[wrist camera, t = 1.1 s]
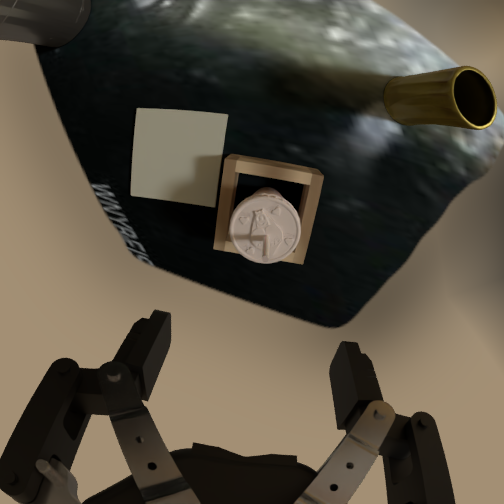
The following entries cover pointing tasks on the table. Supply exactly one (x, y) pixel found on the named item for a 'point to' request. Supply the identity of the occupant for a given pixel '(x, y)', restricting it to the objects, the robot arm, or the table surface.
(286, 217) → the smoothie
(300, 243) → the sleeve
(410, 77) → the vase
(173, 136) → the mat
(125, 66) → the table surface
